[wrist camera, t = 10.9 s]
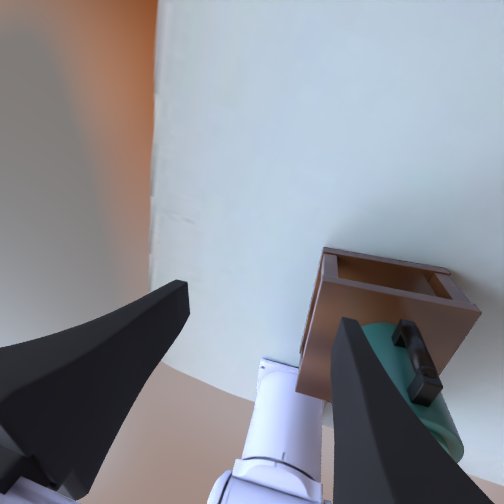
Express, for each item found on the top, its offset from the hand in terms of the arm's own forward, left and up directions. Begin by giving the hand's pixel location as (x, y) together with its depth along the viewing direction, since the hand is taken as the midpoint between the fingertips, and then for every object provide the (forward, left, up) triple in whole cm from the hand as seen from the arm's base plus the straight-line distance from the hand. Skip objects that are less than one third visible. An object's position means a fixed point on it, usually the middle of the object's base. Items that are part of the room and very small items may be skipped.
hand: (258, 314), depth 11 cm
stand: (-7, -8, -10) cm, 15 cm away
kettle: (-5, -8, -5) cm, 11 cm away
